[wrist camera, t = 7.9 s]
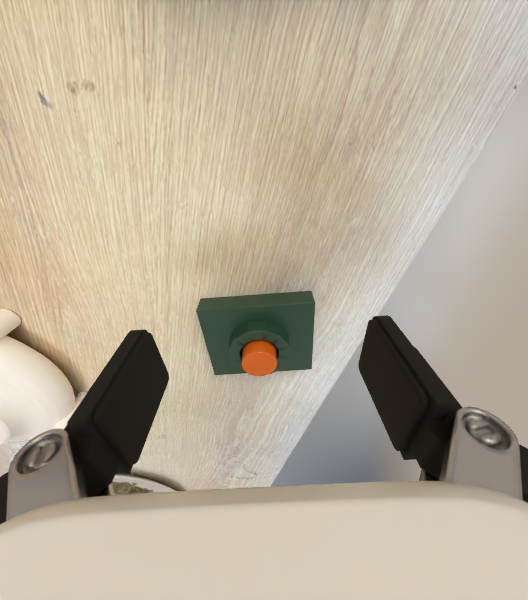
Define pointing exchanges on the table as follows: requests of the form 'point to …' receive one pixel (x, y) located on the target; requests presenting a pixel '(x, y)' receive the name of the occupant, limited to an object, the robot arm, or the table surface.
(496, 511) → the robot arm
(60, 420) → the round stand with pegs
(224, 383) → the table surface
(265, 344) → the button
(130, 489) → the plated food
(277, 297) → the button box
